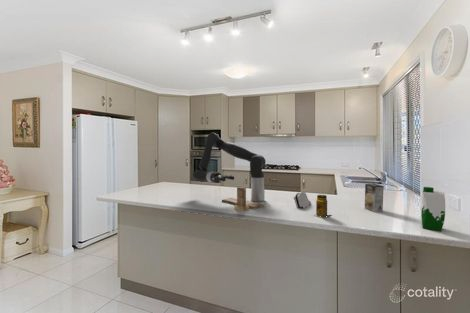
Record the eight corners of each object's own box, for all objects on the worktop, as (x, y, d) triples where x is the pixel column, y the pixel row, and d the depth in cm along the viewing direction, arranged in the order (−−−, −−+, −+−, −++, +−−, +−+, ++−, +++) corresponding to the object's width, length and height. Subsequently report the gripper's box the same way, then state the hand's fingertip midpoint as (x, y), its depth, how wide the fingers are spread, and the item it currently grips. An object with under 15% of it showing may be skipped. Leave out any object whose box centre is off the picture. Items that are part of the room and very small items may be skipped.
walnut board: (231, 199, 188) (231, 197, 188) (263, 206, 168) (263, 203, 167) (221, 201, 181) (221, 199, 181) (253, 209, 160) (253, 206, 160)
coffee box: (363, 208, 161) (364, 183, 160) (372, 208, 162) (373, 183, 161) (374, 212, 152) (374, 186, 151) (383, 211, 153) (384, 185, 152)
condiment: (313, 215, 146) (313, 195, 145) (320, 212, 152) (320, 193, 151) (325, 218, 141) (325, 197, 140) (332, 215, 146) (332, 195, 146)
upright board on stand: (240, 207, 165) (240, 186, 165) (248, 209, 161) (248, 187, 160) (234, 208, 161) (234, 187, 160) (242, 210, 156) (242, 188, 156)
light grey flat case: (304, 208, 161) (298, 193, 162) (297, 210, 163) (292, 195, 165) (311, 203, 175) (306, 189, 176) (305, 204, 177) (300, 191, 179)
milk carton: (421, 224, 130) (423, 185, 129) (444, 228, 124) (446, 187, 123) (420, 228, 123) (421, 188, 122) (443, 232, 117) (445, 190, 116)
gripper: (206, 173, 177) (221, 174, 166) (220, 171, 188) (236, 172, 176) (206, 183, 178) (222, 185, 166) (221, 181, 188) (236, 183, 177)
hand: (229, 178), depth 171 cm, fingers open, 8 cm apart
